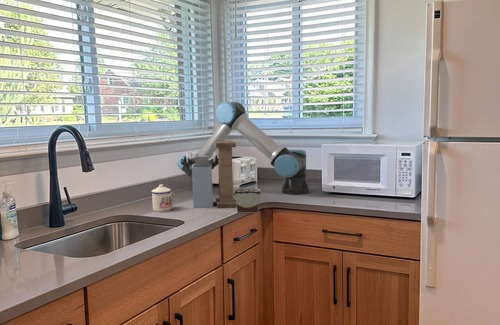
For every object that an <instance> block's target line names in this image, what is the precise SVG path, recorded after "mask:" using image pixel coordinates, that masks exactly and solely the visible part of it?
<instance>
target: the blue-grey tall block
mask: <svg viewBox="0 0 500 325" xmlns="http://www.w3.org/2000/svg"><path fill="white" fill-rule="evenodd" d="M191 180H192V201H193V202H192V204H193V206H192V207H193V209H194V208H210V207H211V208H213V207H214V204H213V203H214V201H213V169H212V166H211V164H210V163H208V165H199V166H195V163H193V165H192V179H191Z"/></svg>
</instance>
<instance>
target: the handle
mask: <svg viewBox="0 0 500 325" xmlns="http://www.w3.org/2000/svg"><path fill="white" fill-rule="evenodd" d="M194 157H195V166H199V165H208V161H209V160H208V155H200V156H196V155H194Z"/></svg>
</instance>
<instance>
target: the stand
mask: <svg viewBox="0 0 500 325" xmlns="http://www.w3.org/2000/svg"><path fill="white" fill-rule="evenodd" d="M236 145H237V144H236V142H235V141H233V140H224V141H216V142H214V146H215V147H216V148H218V149H217V158H218V165H217V166H218V198H217V197H216V198H215V204H216V207H217V209H229V208H230V209H231V208H237V206H236V198H235V197H234V180H233V178H234V177H233V174H234V173H233V171H234V170H233V148H236V147H237V146H236Z"/></svg>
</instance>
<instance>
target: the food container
mask: <svg viewBox="0 0 500 325" xmlns="http://www.w3.org/2000/svg"><path fill="white" fill-rule="evenodd" d="M261 195H262V191H261V189H259V188H255V187H243V188H237V189H234V190H233V196H234V199H235V200H236V206H237V207H236V212H237V214H239V213H240V214H244V213H246V214H249V213H250V214H251V213H252V214H256V213H257V214H259V211H260V210H259V209H260V200H261V199H260V198H261Z"/></svg>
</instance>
